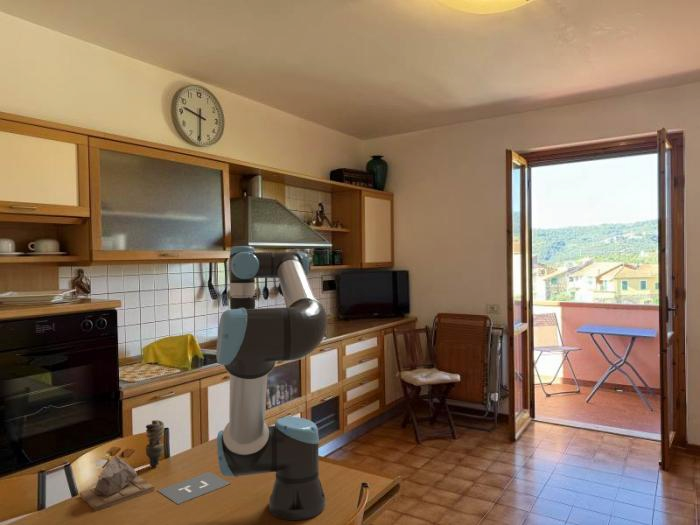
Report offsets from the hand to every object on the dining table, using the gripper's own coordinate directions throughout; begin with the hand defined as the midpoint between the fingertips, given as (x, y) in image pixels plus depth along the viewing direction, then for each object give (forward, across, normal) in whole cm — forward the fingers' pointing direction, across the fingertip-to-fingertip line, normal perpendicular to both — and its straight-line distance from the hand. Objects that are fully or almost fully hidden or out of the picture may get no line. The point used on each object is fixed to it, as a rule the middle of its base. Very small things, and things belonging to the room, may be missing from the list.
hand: (242, 365), depth 151 cm
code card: (+35, +6, +13) cm, 38 cm away
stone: (+34, +19, +30) cm, 49 cm away
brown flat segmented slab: (+35, +19, +30) cm, 50 cm away
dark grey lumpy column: (+35, +29, +14) cm, 47 cm away
